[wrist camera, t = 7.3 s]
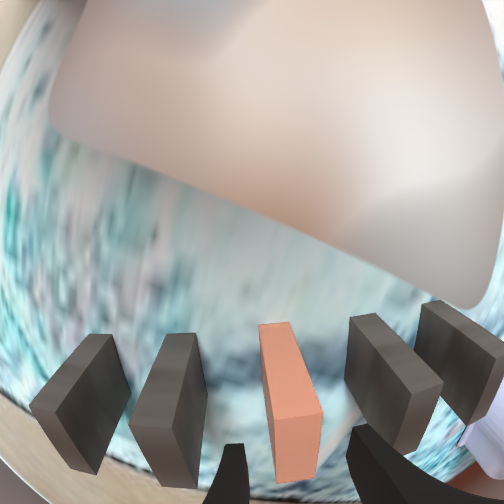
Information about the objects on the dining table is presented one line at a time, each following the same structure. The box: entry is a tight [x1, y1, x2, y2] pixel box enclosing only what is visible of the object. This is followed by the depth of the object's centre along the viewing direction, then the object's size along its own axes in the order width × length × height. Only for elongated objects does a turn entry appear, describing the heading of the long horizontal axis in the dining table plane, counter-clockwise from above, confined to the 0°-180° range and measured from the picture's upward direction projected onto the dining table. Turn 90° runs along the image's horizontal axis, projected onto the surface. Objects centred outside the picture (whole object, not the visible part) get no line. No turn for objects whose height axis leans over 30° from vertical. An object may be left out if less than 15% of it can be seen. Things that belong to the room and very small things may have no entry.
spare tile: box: [259, 322, 323, 484], centre depth 12 cm, size 4×2×7 cm, turn 4°
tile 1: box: [414, 300, 504, 426], centre depth 12 cm, size 4×2×7 cm, turn 4°
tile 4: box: [29, 334, 131, 475], centre depth 12 cm, size 4×2×7 cm, turn 4°
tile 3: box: [128, 333, 207, 489], centre depth 12 cm, size 4×2×7 cm, turn 4°
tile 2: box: [344, 313, 444, 456], centre depth 12 cm, size 4×2×7 cm, turn 4°
